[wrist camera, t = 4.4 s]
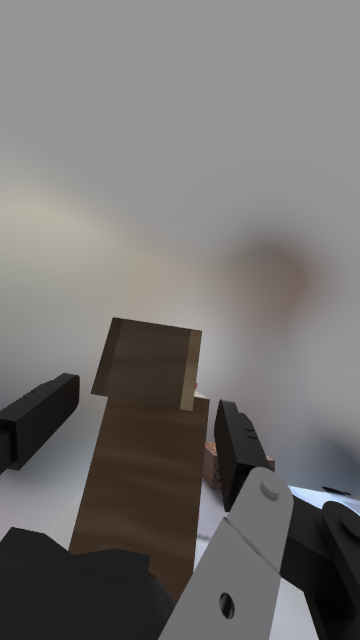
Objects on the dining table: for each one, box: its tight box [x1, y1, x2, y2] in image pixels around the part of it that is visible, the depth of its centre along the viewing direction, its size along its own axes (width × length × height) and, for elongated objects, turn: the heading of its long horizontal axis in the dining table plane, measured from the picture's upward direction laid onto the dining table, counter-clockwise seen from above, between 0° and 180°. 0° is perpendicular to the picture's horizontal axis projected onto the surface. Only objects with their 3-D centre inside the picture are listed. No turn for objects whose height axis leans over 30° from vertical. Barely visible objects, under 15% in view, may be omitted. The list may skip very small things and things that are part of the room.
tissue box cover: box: [203, 442, 275, 489], centre depth 73 cm, size 26×14×10 cm, turn 105°
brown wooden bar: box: [91, 317, 202, 411], centre depth 22 cm, size 26×5×4 cm, turn 1°
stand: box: [68, 391, 210, 604], centre depth 20 cm, size 14×10×32 cm
